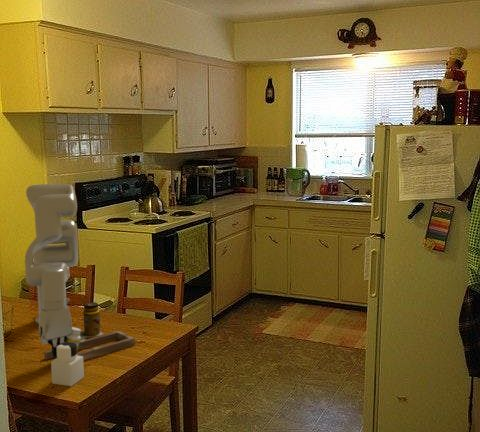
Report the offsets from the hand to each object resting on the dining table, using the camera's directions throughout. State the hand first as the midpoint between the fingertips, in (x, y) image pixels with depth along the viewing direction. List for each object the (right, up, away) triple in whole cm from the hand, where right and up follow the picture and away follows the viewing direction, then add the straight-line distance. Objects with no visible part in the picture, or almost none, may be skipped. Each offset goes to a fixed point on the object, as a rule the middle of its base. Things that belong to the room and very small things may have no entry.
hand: (57, 356), depth 187 cm
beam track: (+8, 0, +11) cm, 13 cm away
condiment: (+4, +2, +27) cm, 27 cm away
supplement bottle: (+2, -1, +3) cm, 4 cm away
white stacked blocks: (+8, -4, -13) cm, 16 cm away
